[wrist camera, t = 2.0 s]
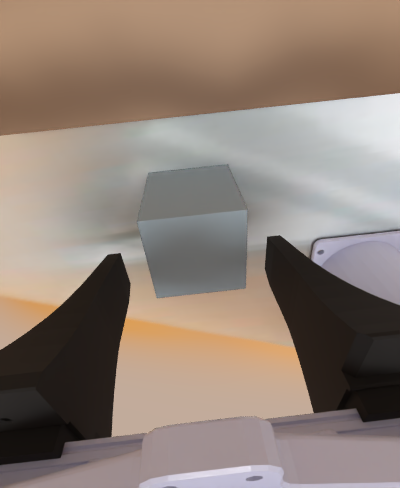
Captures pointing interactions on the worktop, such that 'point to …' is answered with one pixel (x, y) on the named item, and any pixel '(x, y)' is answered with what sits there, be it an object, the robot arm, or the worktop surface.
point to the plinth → (187, 57)
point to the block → (194, 231)
